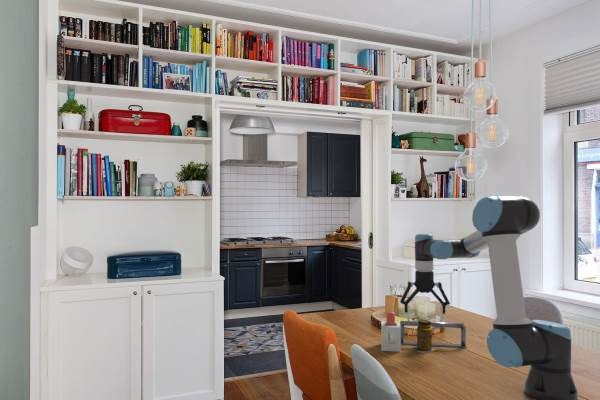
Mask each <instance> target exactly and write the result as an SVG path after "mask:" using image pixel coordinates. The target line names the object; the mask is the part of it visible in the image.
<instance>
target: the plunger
mask: <svg viewBox="0 0 600 400" xmlns="http://www.w3.org/2000/svg"><path fill="white" fill-rule="evenodd" d="M385 321H386V326H395V322H396V311H395V312H394V311H387V312H386V320H385Z"/></svg>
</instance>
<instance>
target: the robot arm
mask: <svg viewBox="0 0 600 400" xmlns="http://www.w3.org/2000/svg"><path fill="white" fill-rule="evenodd" d="M475 204H476V205H475V206H474V208H473V210H472V217H471V218H472V224H473V227H475V231H474V232H472V233H470V234H469V235H466V236H465V237H463V238H460V239H434V235H433V234H431V233H430V234H429V233H417V234H415V236H414V260H415V261H414V268H415V273H414V274H415V277H414V278H415V279H414V282H413V281H410V280H409V281H407V287H406V288H405V290H404V293H403V294H402V296H401V298H400V300H399V302H400V305H401V304H403V306H404V313H406V314H407V317H406V321H411V320H410V317H411V316H410V304H409V303H410V302H412V301H413V300H414V298H415V296H417V294H419V293H421V294H423V293H427V294H429V293H431V294H432V295H433V296H434V298H435V299H436V300H437V301H438V302H439V303H440V305H439V319H440V320H439V322H441V323H444V315H446V306H449V305H451V303H450V300H449V299H448V296H447V295H446V293H445V291H444V289H443V286H442V285H443V284H442V282H441V281H439V282H435V281H434V280H435V279H434V278H435V277H434V274H435V273H434V271H433V270H434V259H437V260H448V259H460V258H462V259H464V258H466V259H467V258H468V259H471V258H476V257H478V256H479V254H480V253H481V252H482V251H483V250H485V249H488V254H489V261H490V262H489V263H490V270H491V271H490V272H491V279H492V287H493V294H494V303H495V312H496V318H495V319H494V320H493V322H492V327H493V329H491V330H490V331H489V332H488V333H487V335H486V344H487V345H486V346H487V348H488V352H489V354H490V355H491V357H492V358H493V360H494V361H495V362H496V363H497V364H498V365H500V366H502V367H504V368H516V369H517V368H521V367H527V366H530V368H529V371H528V373H527V376H526V379H525V382H524V392H525V394H527V395H528V396H530V397H532V398H534V399H537V400H578V389H577V386H576V383H575V381H574V378H573V375H572V334H571V329H570V328H569V327H568V326H566V325H565V324H561V323H558V322H554V321H548V320H544V319H543V320H541V319H532V320H531V319H529V318H528V317H527V315H526V307H525V298H524V291H523V284H522V276H521V269H520V261H519V254H518V253H519V252H518V246H517V240H518V238H520V237H521V235H523V234H526V233H527V232H529V231H531V230H533V229H534V228H536V227H537V225H538V224H539V221H540V217H541V213H540V209H539V207H538V205H537V204H536V203H535V202H534V201H533V200H531V199H530V198H528V197H524V196H501V195H500V196H499V195H495V196H485V197H483V198H480V199H479V200H478V201H477V202H476V203H475ZM413 286H414V287H415V289H414V291H412V293H411V294H410V295H409V297H408V298H407V296H408V294H409V292H410V290H411V288H413ZM435 287H436V288H437V289H438V290H439V291H440V293H441V296H442V297H443V299H444V300H442V298H441V297H440V296H439V295H438V294H437V293H436V291H435V290H434V288H435ZM406 298H407V299H406Z"/></svg>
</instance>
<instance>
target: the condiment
mask: <svg viewBox="0 0 600 400" xmlns="http://www.w3.org/2000/svg"><path fill="white" fill-rule="evenodd" d="M431 322H432V321H430V320H428V319H419V320H418V326H416V328H417V330H416V332H417V333H416V334H417V335H416V339H417V340H416V342H417V345H416V346H414V347H410V348H409V349H410V350H412V351H414V352H415V351H416V352H418V353H420V354H425V353H429V352H433V351H436V350H437V349H435V348H433V346H432V343H433V329H432V328H433V327H431Z"/></svg>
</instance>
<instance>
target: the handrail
mask: <svg viewBox="0 0 600 400" xmlns="http://www.w3.org/2000/svg"><path fill="white" fill-rule="evenodd" d="M418 321H419V320H418ZM418 321H416V320H415V321H413V320H410V321H408V320H400V321H399V322H400V326H401V345H404V346H417V341H405V326H408V327H418ZM430 322H431V328H452V329H460V343H445V342H444V343H443V342H432V347H440V348H441V347H443V348H444V347H446V348H463V349H467V326H466V325H464V323H462V322H461V323H460V322H458V323H457V322H441V321H439V322H438V321H430Z"/></svg>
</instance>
